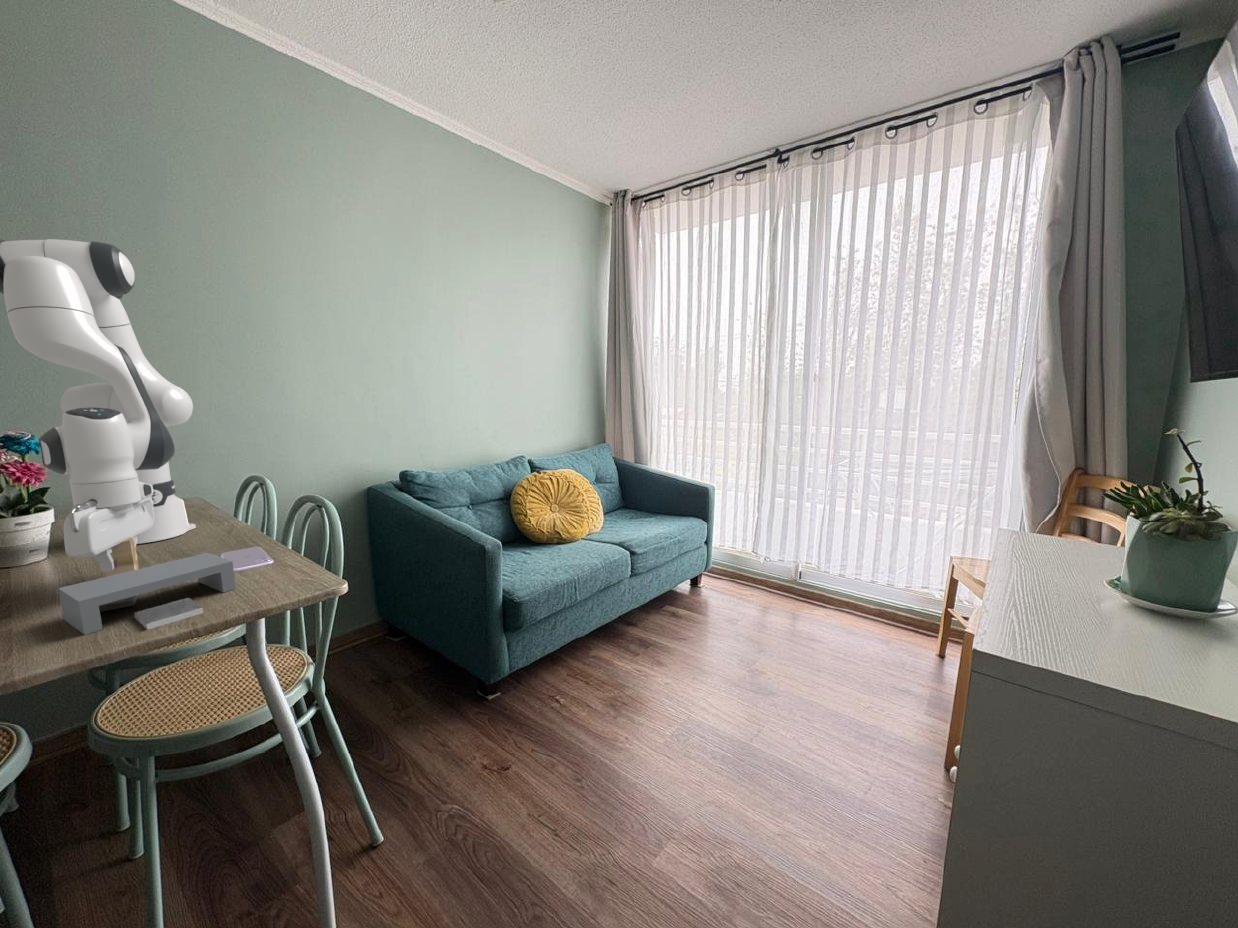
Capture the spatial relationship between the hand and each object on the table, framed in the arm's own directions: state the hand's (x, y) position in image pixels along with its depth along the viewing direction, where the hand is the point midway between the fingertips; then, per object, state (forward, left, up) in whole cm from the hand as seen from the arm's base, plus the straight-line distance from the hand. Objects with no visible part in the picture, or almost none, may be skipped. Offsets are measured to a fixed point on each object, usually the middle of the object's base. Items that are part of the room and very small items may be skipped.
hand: (119, 565), depth 93 cm
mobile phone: (+4, +19, -5) cm, 20 cm away
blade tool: (+6, -2, -4) cm, 7 cm away
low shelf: (+16, 0, -4) cm, 16 cm away
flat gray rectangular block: (+24, -1, -5) cm, 24 cm away
